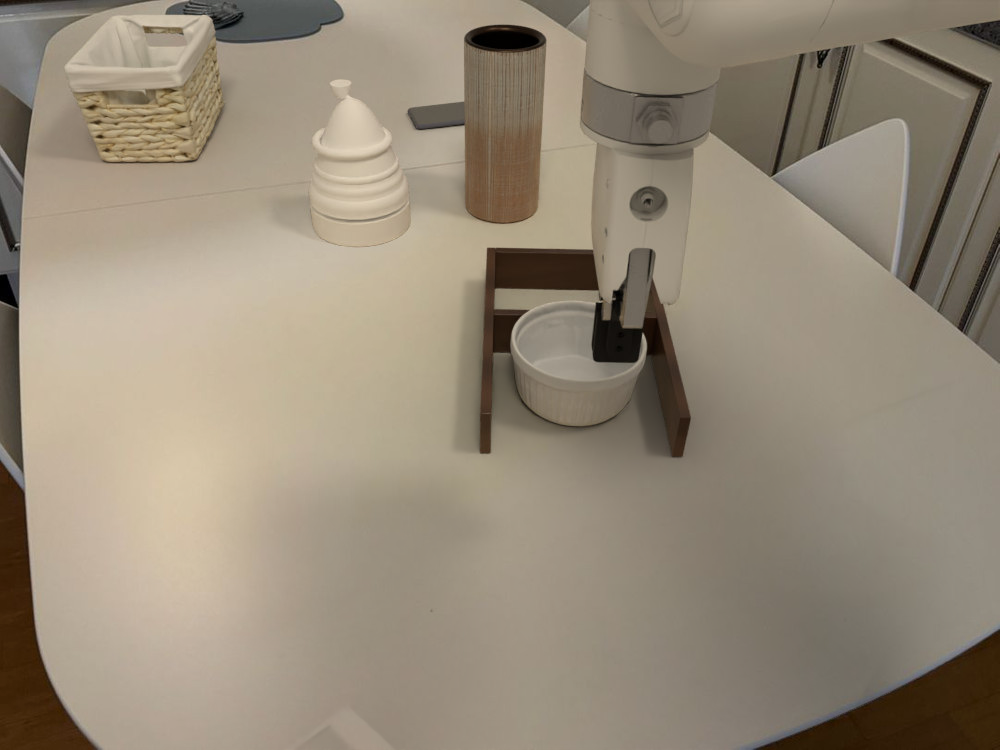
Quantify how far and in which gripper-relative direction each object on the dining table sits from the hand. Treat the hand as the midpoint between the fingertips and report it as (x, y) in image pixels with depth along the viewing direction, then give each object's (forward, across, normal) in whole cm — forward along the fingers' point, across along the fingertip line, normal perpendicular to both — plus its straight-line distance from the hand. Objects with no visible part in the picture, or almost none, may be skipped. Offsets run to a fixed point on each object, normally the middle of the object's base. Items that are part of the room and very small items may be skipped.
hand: (614, 355), depth 61 cm
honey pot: (+19, +53, +27) cm, 62 cm away
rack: (+19, +24, 0) cm, 31 cm away
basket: (+19, +79, +61) cm, 102 cm away
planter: (+19, +58, +8) cm, 61 cm away
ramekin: (+19, +18, 0) cm, 27 cm away
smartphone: (+19, +88, +16) cm, 92 cm away
